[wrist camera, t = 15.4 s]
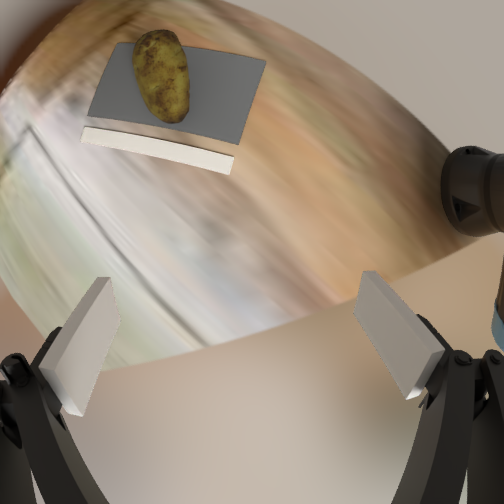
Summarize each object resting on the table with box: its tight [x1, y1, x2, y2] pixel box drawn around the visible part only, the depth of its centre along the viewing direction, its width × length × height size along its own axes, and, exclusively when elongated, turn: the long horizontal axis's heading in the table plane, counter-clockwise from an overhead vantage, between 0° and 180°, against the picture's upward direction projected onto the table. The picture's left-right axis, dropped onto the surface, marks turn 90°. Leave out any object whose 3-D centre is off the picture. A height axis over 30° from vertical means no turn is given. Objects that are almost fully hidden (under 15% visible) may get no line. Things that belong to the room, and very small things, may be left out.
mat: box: [87, 43, 266, 145], centre depth 33 cm, size 24×13×1 cm, turn 73°
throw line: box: [80, 127, 234, 175], centre depth 35 cm, size 24×2×1 cm, turn 73°
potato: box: [132, 30, 190, 124], centre depth 29 cm, size 8×13×8 cm, turn 175°
